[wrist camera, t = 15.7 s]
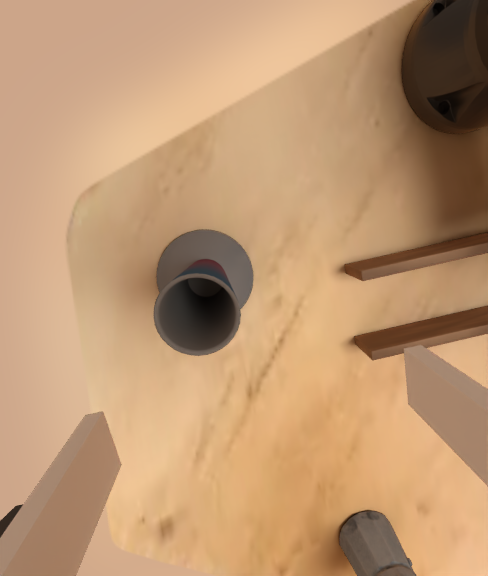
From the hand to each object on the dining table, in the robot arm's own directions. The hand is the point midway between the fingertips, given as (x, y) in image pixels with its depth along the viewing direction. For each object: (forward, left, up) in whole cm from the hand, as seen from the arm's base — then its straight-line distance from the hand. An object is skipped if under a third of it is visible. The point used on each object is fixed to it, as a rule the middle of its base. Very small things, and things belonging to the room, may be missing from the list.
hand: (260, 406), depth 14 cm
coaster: (-1, -3, -28) cm, 28 cm away
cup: (-1, -3, -27) cm, 27 cm away
